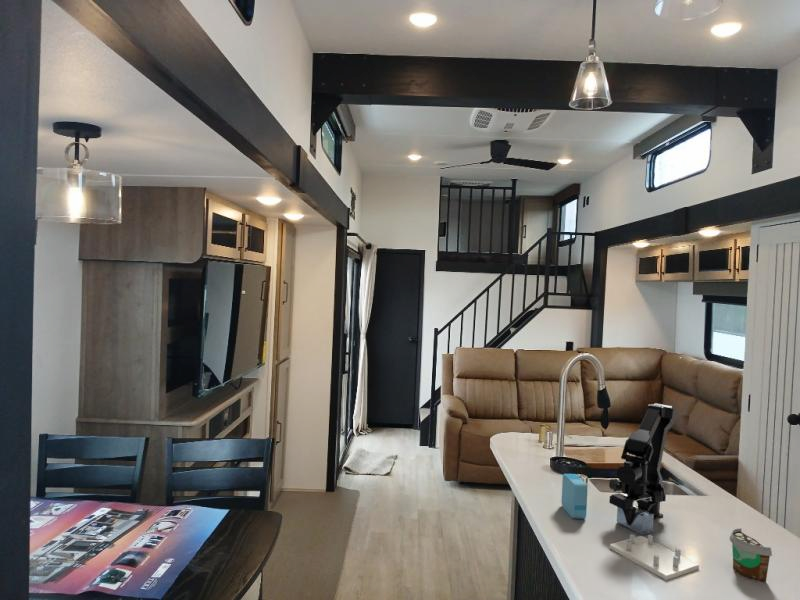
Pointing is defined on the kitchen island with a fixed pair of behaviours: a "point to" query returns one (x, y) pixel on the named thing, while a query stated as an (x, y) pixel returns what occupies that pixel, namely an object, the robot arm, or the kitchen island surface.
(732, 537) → the food container
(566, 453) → the kitchen island surface
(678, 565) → the cream pegged board
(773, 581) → the kitchen island surface
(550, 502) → the kitchen island surface
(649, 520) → the block
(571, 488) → the light blue box
